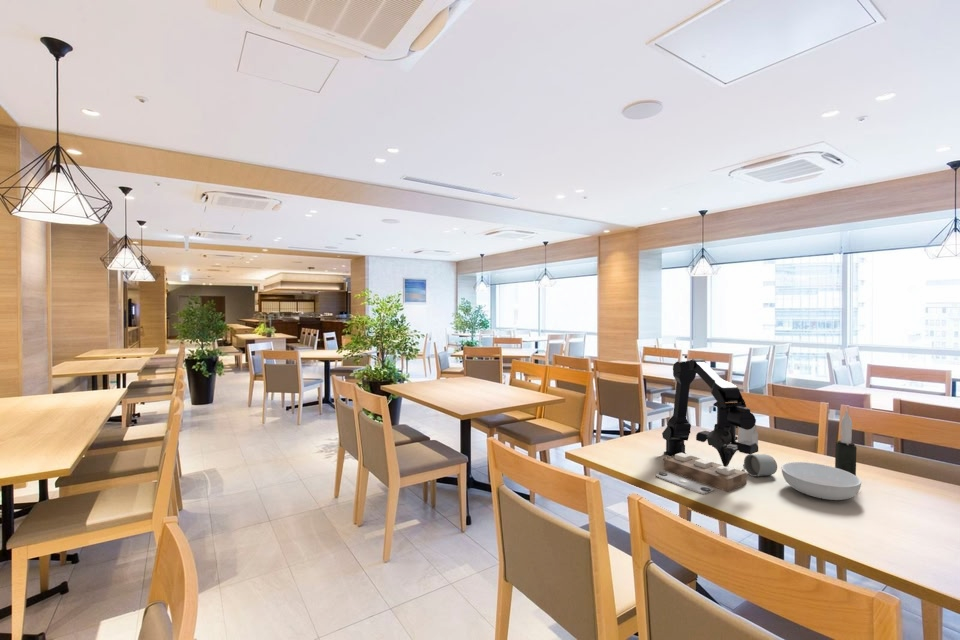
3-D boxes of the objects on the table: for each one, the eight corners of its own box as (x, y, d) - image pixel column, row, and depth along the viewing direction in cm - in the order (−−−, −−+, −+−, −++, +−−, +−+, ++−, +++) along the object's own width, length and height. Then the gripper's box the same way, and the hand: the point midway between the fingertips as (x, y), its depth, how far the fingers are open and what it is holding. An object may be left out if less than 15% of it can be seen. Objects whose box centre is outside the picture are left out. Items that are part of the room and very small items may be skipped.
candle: (851, 478, 159) (853, 409, 158) (856, 483, 154) (858, 412, 153) (833, 476, 161) (835, 407, 160) (838, 481, 156) (840, 410, 155)
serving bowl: (766, 487, 152) (767, 467, 151) (805, 477, 160) (805, 458, 160) (835, 513, 133) (836, 490, 132) (875, 500, 141) (876, 479, 141)
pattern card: (654, 476, 161) (654, 474, 161) (664, 472, 164) (664, 470, 164) (704, 495, 145) (704, 492, 145) (715, 490, 148) (715, 488, 148)
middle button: (694, 468, 162) (694, 460, 161) (701, 466, 164) (701, 458, 164) (705, 472, 158) (705, 463, 158) (711, 470, 160) (711, 461, 160)
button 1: (674, 462, 168) (675, 454, 168) (681, 460, 170) (681, 452, 170) (684, 465, 165) (684, 457, 165) (691, 463, 167) (691, 455, 167)
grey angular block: (752, 448, 193) (752, 425, 193) (737, 443, 199) (738, 421, 199) (757, 446, 194) (758, 424, 194) (743, 442, 201) (743, 420, 200)
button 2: (716, 475, 155) (716, 467, 155) (722, 473, 157) (723, 465, 157) (728, 479, 151) (728, 470, 151) (734, 477, 154) (734, 468, 153)
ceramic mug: (779, 477, 160) (779, 456, 160) (760, 479, 158) (760, 458, 158) (754, 467, 170) (754, 447, 170) (736, 469, 168) (736, 449, 168)
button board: (663, 469, 168) (663, 458, 168) (682, 463, 174) (682, 453, 174) (727, 491, 148) (727, 479, 148) (746, 483, 154) (746, 472, 154)
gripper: (687, 419, 157) (686, 462, 158) (741, 431, 141) (741, 480, 142) (705, 414, 163) (704, 457, 164) (759, 426, 147) (758, 473, 148)
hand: (725, 466), depth 154 cm, fingers closed
